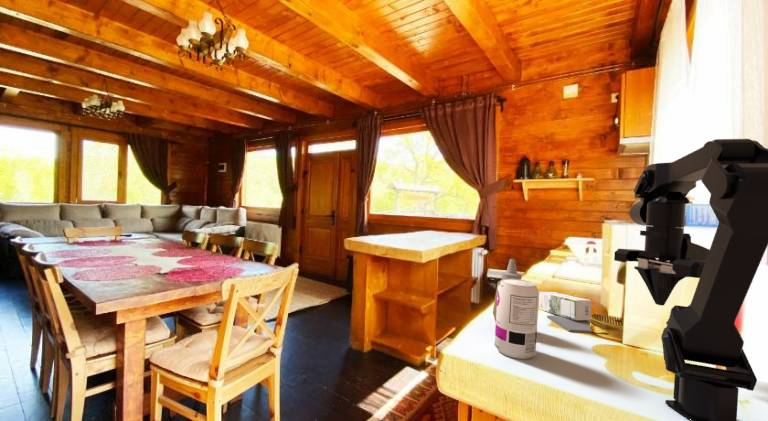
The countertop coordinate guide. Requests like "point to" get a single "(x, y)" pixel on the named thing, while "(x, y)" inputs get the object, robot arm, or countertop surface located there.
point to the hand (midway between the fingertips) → (659, 304)
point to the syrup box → (565, 305)
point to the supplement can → (516, 318)
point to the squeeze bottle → (509, 274)
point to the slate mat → (572, 324)
